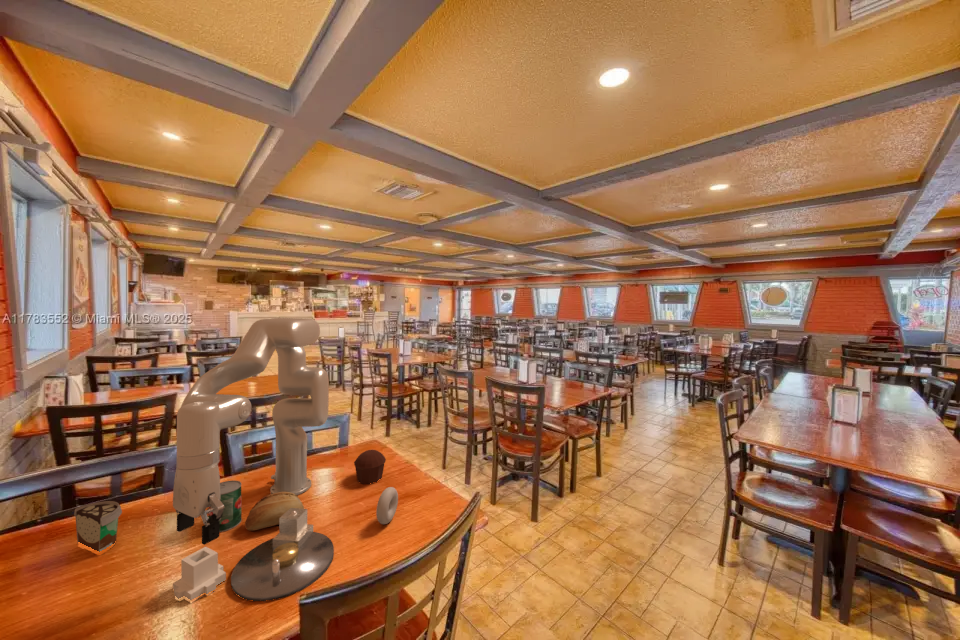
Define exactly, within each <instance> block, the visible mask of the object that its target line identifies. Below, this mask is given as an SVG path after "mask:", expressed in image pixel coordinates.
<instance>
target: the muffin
mask: <svg viewBox="0 0 960 640" xmlns="http://www.w3.org/2000/svg"><path fill="white" fill-rule="evenodd" d="M386 461H387V459H386V457H385V456H384V454H383V453H382V452H380V451H379V450H376V449H368V450H365V451H363V452H362V453H360V454H359V455H358V456H357V458H356V459H354V462H353V464H354V467H355V473H356V480H357V483H359V482H360V484H361V483H362V484H361V485H371V484H370V483H372V484H374V483H373V482H376V483H378V482H379V481H380V480H379V479H381V478H382V479H383V474H384V468H385V463H386ZM382 479H381V480H382ZM378 480H379V481H378ZM377 481H378V482H377Z"/></svg>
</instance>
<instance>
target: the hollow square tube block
mask: <svg viewBox="0 0 960 640" xmlns="http://www.w3.org/2000/svg"><path fill="white" fill-rule="evenodd" d="M218 558H219V553H218V552H217V551H215V550H214V549H212V548H209V547H207V546H204V547H202V548H200V549H198V550H197V551H195V552H193V553H190V554H188V555H187V556H185V557H183V558H181V562H180V563H181V565H180V566H181V568H180V569H181V572H180V573H181V577H180V578H179V579H178V580H176V581H174V582H173V583H172V590H173V589H174V592H173V595H174V596H176V597H177V598H178V599H179V598H181V597H183V596H185V597H187V598H188V599H190V600H192V599H194V598H196V597H198V596H200V595H201V594H203V593H206V594H208V593H209V592H211V591H213V590H215V589H216V590H217V587H216V585H218V584H220V583H221V582H223V581H225V580H226V581H227V572H226V571H224V565H222V564H220V563H219V559H218ZM226 581H225V582H226ZM223 583H224V582H223ZM220 585H221V584H220ZM174 596H173V597H174Z"/></svg>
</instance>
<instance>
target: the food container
mask: <svg viewBox="0 0 960 640" xmlns="http://www.w3.org/2000/svg"><path fill="white" fill-rule="evenodd" d="M73 512H74V513H73V516H74V517H75V529H76V540H77V543H78V542H80V543H82V544H84V545H86V546H88V547H91V548H92V549H94V550H97V551H99V552H100V551H102V550H104V549H106V548H107V547H109V546H111V545H112V544H114V543H115V541H116V542H117V533H118V525H119V524H118V523H119V517H120V516H121V515H122V514H123V510H122V507H121V505H120V503H119V502H117V501H114V500H113V501H111V500H109V501H108V500H107V501H106V500H104V501H99V502H98V501H97V502H93V503H89V504H85V505H82V506H78V507H76V508H75V509H74V511H73ZM115 544H116V543H115Z"/></svg>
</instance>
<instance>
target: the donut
mask: <svg viewBox="0 0 960 640" xmlns="http://www.w3.org/2000/svg"><path fill="white" fill-rule="evenodd" d="M398 505H399V494H398V490H397V489H396V488H395V487H394V486H389V487H386V488H385V489H383V491H382V493H381V494H380V495H379V498H378V501H377V505H376V511H375V512H376V520H377V522H378V523H379V524H380V525H387V524H388V523H390V522H391V521H392V519H393V518H394V517H395V513H396V512H397V508H398Z"/></svg>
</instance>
